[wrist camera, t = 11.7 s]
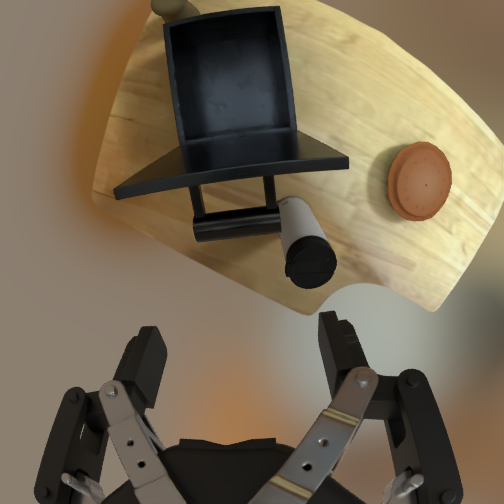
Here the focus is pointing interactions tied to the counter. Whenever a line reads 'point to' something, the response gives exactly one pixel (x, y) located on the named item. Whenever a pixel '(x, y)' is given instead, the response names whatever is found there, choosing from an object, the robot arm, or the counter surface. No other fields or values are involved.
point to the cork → (173, 9)
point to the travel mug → (304, 245)
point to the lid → (234, 177)
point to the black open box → (229, 74)
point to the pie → (419, 181)
